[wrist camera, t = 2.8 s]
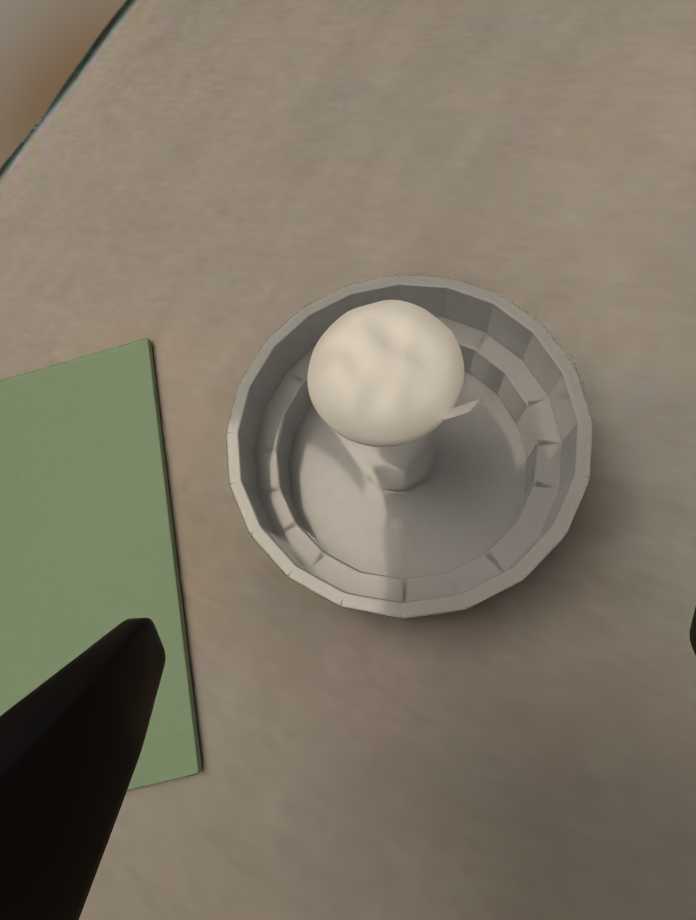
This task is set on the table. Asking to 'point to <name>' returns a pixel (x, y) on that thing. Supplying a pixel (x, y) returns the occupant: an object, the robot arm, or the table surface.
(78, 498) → the mat
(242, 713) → the table surface
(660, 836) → the table surface
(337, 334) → the milkshake
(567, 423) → the bowl
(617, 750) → the table surface
